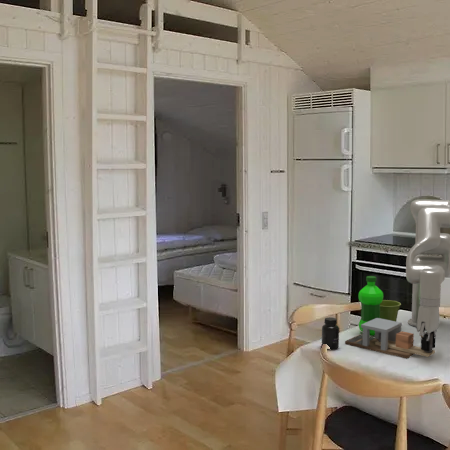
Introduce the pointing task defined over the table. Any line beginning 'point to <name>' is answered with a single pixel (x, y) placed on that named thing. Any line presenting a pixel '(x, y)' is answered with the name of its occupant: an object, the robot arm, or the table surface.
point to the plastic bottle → (370, 302)
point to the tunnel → (381, 331)
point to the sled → (407, 344)
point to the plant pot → (389, 310)
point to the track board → (376, 347)
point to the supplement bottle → (330, 333)
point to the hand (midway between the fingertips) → (428, 348)
